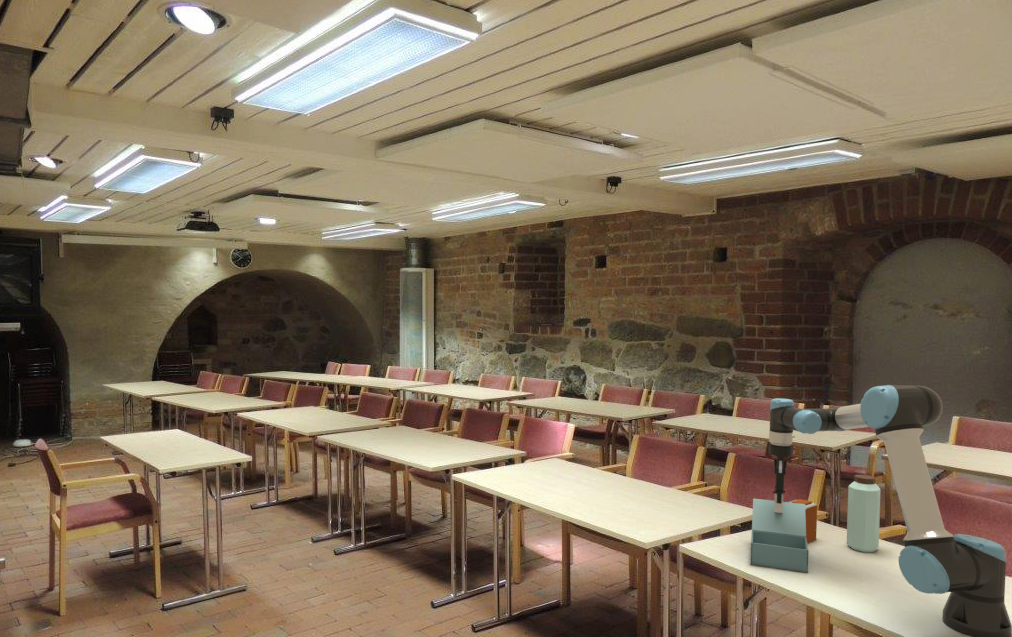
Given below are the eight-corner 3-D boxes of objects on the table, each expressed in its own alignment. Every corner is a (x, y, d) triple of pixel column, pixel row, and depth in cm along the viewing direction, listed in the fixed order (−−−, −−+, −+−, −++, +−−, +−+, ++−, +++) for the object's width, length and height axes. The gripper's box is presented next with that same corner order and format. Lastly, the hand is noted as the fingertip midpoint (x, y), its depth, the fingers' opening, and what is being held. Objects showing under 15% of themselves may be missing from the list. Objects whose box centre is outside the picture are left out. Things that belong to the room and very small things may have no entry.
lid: (805, 504, 243) (805, 505, 243) (753, 498, 249) (753, 499, 249) (806, 536, 232) (806, 537, 232) (751, 529, 238) (751, 530, 238)
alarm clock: (795, 533, 258) (796, 496, 258) (818, 539, 252) (819, 502, 252) (774, 541, 249) (775, 503, 249) (797, 547, 242) (798, 508, 242)
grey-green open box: (807, 572, 219) (808, 550, 219) (750, 564, 225) (750, 542, 225) (805, 558, 232) (806, 537, 232) (751, 550, 238) (751, 530, 238)
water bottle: (839, 545, 246) (842, 474, 245) (859, 542, 250) (861, 472, 249) (865, 555, 237) (867, 481, 236) (885, 551, 241) (887, 478, 240)
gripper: (793, 448, 234) (791, 518, 234) (791, 441, 246) (789, 508, 246) (769, 446, 236) (767, 515, 236) (769, 439, 248) (766, 505, 249)
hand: (778, 511), depth 241 cm, fingers closed
